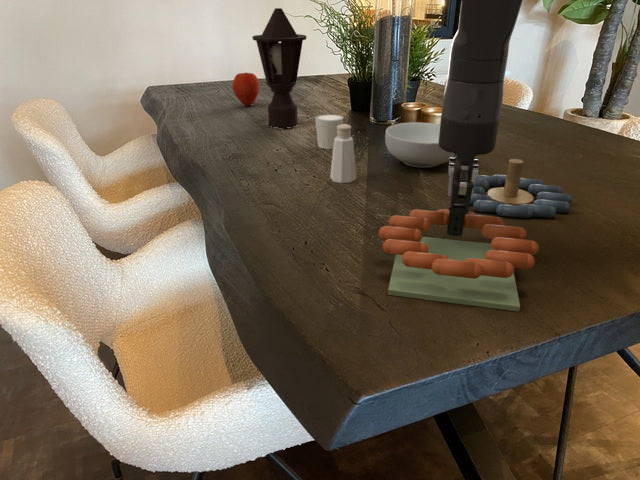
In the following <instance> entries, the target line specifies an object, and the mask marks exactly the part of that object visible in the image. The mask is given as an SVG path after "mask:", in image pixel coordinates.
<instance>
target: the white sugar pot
mask: <svg viewBox="0 0 640 480" xmlns="http://www.w3.org/2000/svg"><path fill="white" fill-rule="evenodd" d="M314 119H315V131H316V139H317V147H318V148H320V149H323V148H324V150H333V147H334V139H335V138H336V137H337V135H338V134H337V126H338V125H341V124H344V116H343V115H339V114H319V115H316V116H315V117H314Z"/></svg>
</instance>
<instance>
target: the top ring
mask: <svg viewBox="0 0 640 480" xmlns="http://www.w3.org/2000/svg"><path fill="white" fill-rule="evenodd" d="M448 219H449V209H448V208H440V209H438V210H428V209H427V210H425V209H417V208H416V209H413V210H411V211H410V212H409V215H408V216H406V215H397V214H394V215H392V216H391V217H390V218H389V219H388V225H383V226H381V227H380V228H379V230H378V236H379V238H380V239H381V240H383V243H382V250H383V251H384V253H385V254H388V255H394V256H396V255H402V263H403V264H404V265H405V266H407V267H413V268H422V269H430V270H433V272H434V273H436V274H438V275H446V276H454V277H463V278H471V279H476V278H478V277H479V276H480V275H482V276H491V277H500V278H509V277H510V276H512V275H513V273H514V274H515V269H522V270H529V269H532V268H533V267H534V265H535V263H536V262H535V261H536V259H535V257H534V255H536V254H537V253H538V252H539V249H540V246H539V244H538V242H536V241H535V240H531V239H526V238H527V236H528V235H527V234H528V232H527V230H526V229H525V228H524V227H521V226H513V225H505V221H504V219H503V218H502V217H501V216H493V215H481V214H476V213H475V212H473V211H470V210H469V212H468V214H465V220H464V227H463V228H466V229H476V230H481V231H480V233H481V236H482V237H483V238H486V239H488V240H489V239H490V240H491V239H492V240H491V241H490V244H491V248H492V249H493V250H489V251H487V252H486V254H485V256H484V258H485V259H477V258H468V259H466V260H465V261H458V260H450V259H449V258H448V257H447V256H445V255H440V254H431V253H428V251H429V248H428V246H427V245H426V244H425V243H423V242H420V241H421V239H422V237H423V233H426V232H428V231H429V230H430V229H431V226H432V225H434V226H448Z"/></svg>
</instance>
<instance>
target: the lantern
mask: <svg viewBox="0 0 640 480" xmlns="http://www.w3.org/2000/svg"><path fill="white" fill-rule="evenodd" d="M251 38H252V40H253V41H255V42H256V46H257V49H258V54H259V58H260V62H261V65H262V70H263V74H264V78H265V82H266V85H267V86H268V87H269V88H270V91H271V93H273V95H272V99H271V102H270V103H269V105H268V106H267V115H268V117H267V119H268V126H269V125H270V126H272V127H278V128H287V127H293V126H296V125H297V124H298V125H299V122H298V120H299V119H298V105H297V104H296V103H295V102H294V100H293V96H292V94H291V92H293V88H294V87H295V86H296V85H297V80H298V74H299V66H300V61H301V55H302V48H303V42H304V41H307V35H305V34H300V33H299V34H298V33H297V32H296V31H295V28H294V27H293V25H292V24H291V21H290V20H289V18H288V16H287V15H286V13H285V12H284V10H283V8H282V7H275V8H274V9H273V11H272V14H271V16H270V17H269V20H268V21H267V23H266V26H265V27H264V30H263V31H262V34H256V35H253V36H252V37H251Z"/></svg>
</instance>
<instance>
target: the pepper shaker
mask: <svg viewBox="0 0 640 480" xmlns="http://www.w3.org/2000/svg"><path fill="white" fill-rule="evenodd" d="M351 129H352V126H351V125H350V124H347V123H343V124H341V125H338V126H337V134H338V135H337V137H336V138H335V139H334V147H333V149H332V157H331V167H330V175H329V178H330V180H331V181H332V182H333V183H337V184H351V183H353V182H355V181H356V180H357V171H356V156H355V145H354V138H353V137H352V136H351V134H352V130H351Z"/></svg>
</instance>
